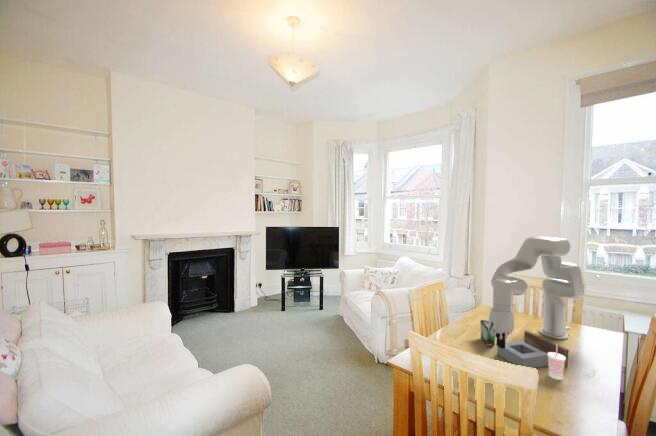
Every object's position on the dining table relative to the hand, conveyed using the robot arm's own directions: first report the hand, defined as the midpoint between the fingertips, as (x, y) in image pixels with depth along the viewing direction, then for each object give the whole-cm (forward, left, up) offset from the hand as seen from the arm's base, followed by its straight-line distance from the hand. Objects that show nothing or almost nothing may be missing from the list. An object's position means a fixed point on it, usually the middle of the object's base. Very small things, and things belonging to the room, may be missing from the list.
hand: (500, 346), depth 132 cm
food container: (-10, -17, -8) cm, 22 cm away
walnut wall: (-25, 0, -8) cm, 27 cm away
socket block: (-12, 0, -8) cm, 14 cm away
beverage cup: (-14, +14, -8) cm, 22 cm away
